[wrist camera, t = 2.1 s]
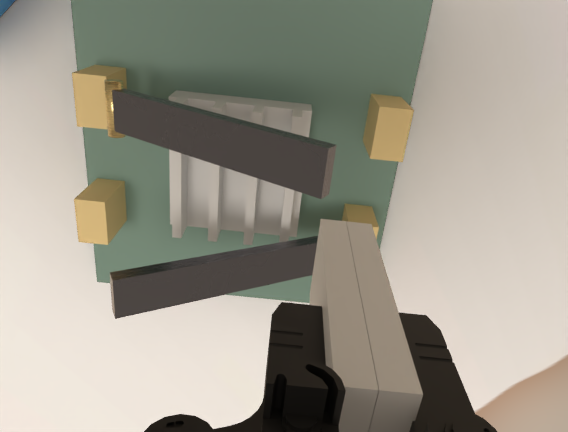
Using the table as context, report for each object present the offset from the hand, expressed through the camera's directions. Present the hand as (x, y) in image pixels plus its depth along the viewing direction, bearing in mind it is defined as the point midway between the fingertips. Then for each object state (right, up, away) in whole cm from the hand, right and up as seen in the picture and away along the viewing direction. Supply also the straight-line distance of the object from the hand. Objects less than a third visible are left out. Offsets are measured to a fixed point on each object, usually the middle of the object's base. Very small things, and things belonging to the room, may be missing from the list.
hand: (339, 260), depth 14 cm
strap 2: (-5, -2, +14) cm, 15 cm away
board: (-5, +6, +20) cm, 21 cm away
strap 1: (-6, +6, +10) cm, 13 cm away
